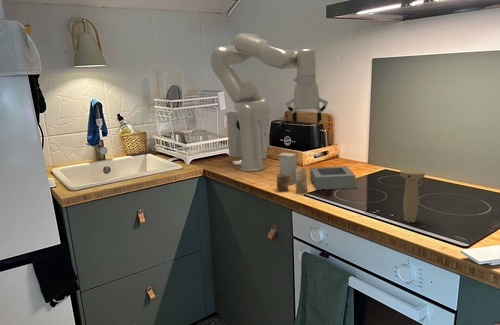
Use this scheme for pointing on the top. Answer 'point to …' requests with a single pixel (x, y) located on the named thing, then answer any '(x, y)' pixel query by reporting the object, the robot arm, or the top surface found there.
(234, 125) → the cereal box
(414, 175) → the handle
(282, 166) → the skincare box
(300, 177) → the grey brown upright block
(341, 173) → the socket block
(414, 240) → the top surface
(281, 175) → the short walnut dowel
